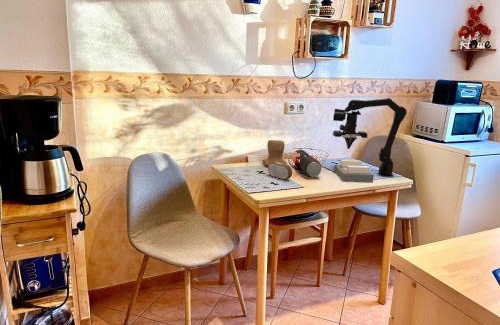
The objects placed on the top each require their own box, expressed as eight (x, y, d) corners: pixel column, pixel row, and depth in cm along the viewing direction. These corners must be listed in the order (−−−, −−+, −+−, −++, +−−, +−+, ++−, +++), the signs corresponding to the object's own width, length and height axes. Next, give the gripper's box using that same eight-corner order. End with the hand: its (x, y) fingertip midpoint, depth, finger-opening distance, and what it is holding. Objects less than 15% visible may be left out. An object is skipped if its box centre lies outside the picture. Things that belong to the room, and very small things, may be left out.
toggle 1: (359, 165, 215) (359, 160, 214) (360, 167, 212) (361, 161, 211) (340, 165, 214) (340, 159, 213) (341, 166, 211) (342, 161, 210)
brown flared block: (279, 161, 235) (281, 137, 232) (289, 165, 225) (290, 141, 221) (257, 162, 229) (259, 138, 225) (266, 167, 219) (268, 142, 215)
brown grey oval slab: (292, 180, 196) (293, 165, 194) (288, 181, 194) (289, 166, 192) (270, 174, 206) (270, 159, 204) (266, 175, 204) (267, 160, 202)
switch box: (360, 172, 218) (361, 165, 217) (372, 182, 200) (373, 174, 199) (333, 171, 217) (334, 164, 216) (343, 181, 199) (344, 173, 198)
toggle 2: (366, 171, 203) (367, 166, 202) (368, 173, 200) (369, 167, 199) (346, 171, 202) (347, 165, 201) (348, 172, 199) (348, 167, 198)
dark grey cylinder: (306, 165, 228) (308, 149, 225) (321, 179, 201) (323, 160, 198) (291, 165, 226) (292, 148, 224) (304, 179, 200) (306, 160, 197)
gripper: (362, 120, 222) (359, 146, 226) (331, 119, 221) (328, 145, 225) (369, 123, 211) (365, 150, 215) (336, 122, 210) (333, 149, 214)
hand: (348, 148), depth 217 cm, fingers closed
